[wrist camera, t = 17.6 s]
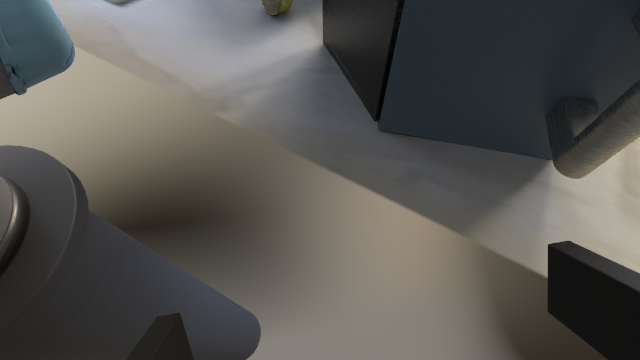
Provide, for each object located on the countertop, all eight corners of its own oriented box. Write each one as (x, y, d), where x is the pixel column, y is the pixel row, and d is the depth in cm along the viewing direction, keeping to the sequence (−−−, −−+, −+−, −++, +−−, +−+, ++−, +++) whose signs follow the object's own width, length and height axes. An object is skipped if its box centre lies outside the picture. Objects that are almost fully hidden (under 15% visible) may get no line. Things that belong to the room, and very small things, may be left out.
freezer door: (564, 215, 24) (1096, -112, 7) (368, 177, 27) (437, -140, 10) (552, 151, 28) (904, -177, 11) (379, 122, 30) (445, -185, 13)
